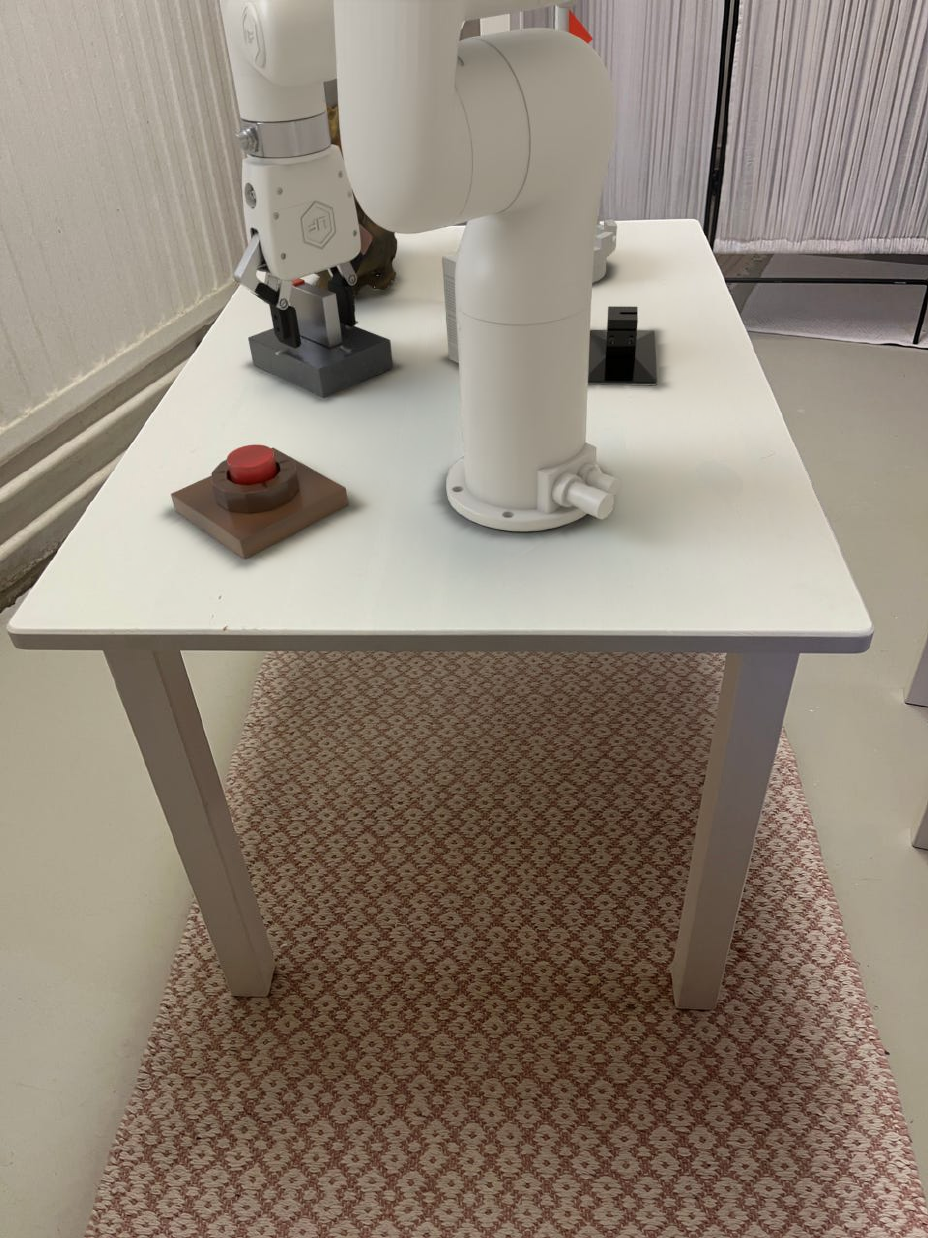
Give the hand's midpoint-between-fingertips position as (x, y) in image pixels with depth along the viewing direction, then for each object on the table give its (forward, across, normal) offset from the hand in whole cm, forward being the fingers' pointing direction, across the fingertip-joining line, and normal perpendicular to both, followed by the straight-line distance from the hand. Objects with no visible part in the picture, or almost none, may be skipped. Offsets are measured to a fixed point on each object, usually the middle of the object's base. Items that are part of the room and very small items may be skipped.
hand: (317, 331), depth 93 cm
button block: (+4, -20, -18) cm, 27 cm away
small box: (+4, +13, -12) cm, 18 cm away
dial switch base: (+4, 0, 0) cm, 4 cm away
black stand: (+4, +21, -22) cm, 31 cm away
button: (+1, -20, -18) cm, 27 cm away
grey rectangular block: (+1, 0, 0) cm, 1 cm away
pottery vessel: (+4, +18, +17) cm, 25 cm away
